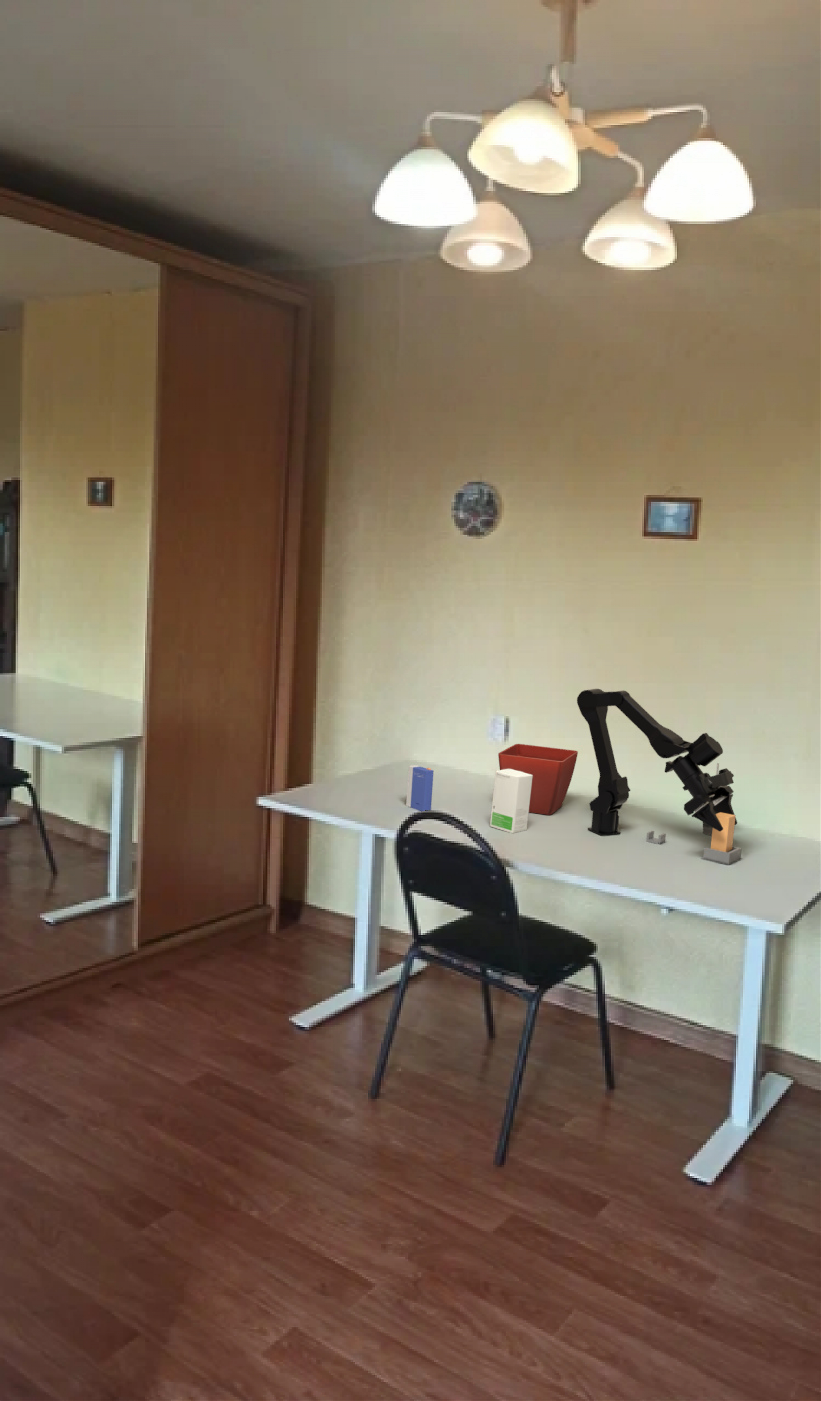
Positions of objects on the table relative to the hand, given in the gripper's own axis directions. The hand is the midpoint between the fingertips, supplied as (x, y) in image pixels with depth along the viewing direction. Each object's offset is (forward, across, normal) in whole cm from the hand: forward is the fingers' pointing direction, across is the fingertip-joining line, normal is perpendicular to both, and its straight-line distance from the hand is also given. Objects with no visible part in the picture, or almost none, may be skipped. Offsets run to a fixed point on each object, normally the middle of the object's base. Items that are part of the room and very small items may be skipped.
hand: (728, 827), depth 283 cm
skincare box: (-32, -18, +44) cm, 57 cm away
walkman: (-52, -19, +65) cm, 86 cm away
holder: (+5, 0, +7) cm, 9 cm away
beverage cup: (-3, +23, +16) cm, 28 cm away
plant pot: (-37, +8, +50) cm, 63 cm away
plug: (+5, 0, +7) cm, 8 cm away
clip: (-8, +2, +20) cm, 22 cm away
